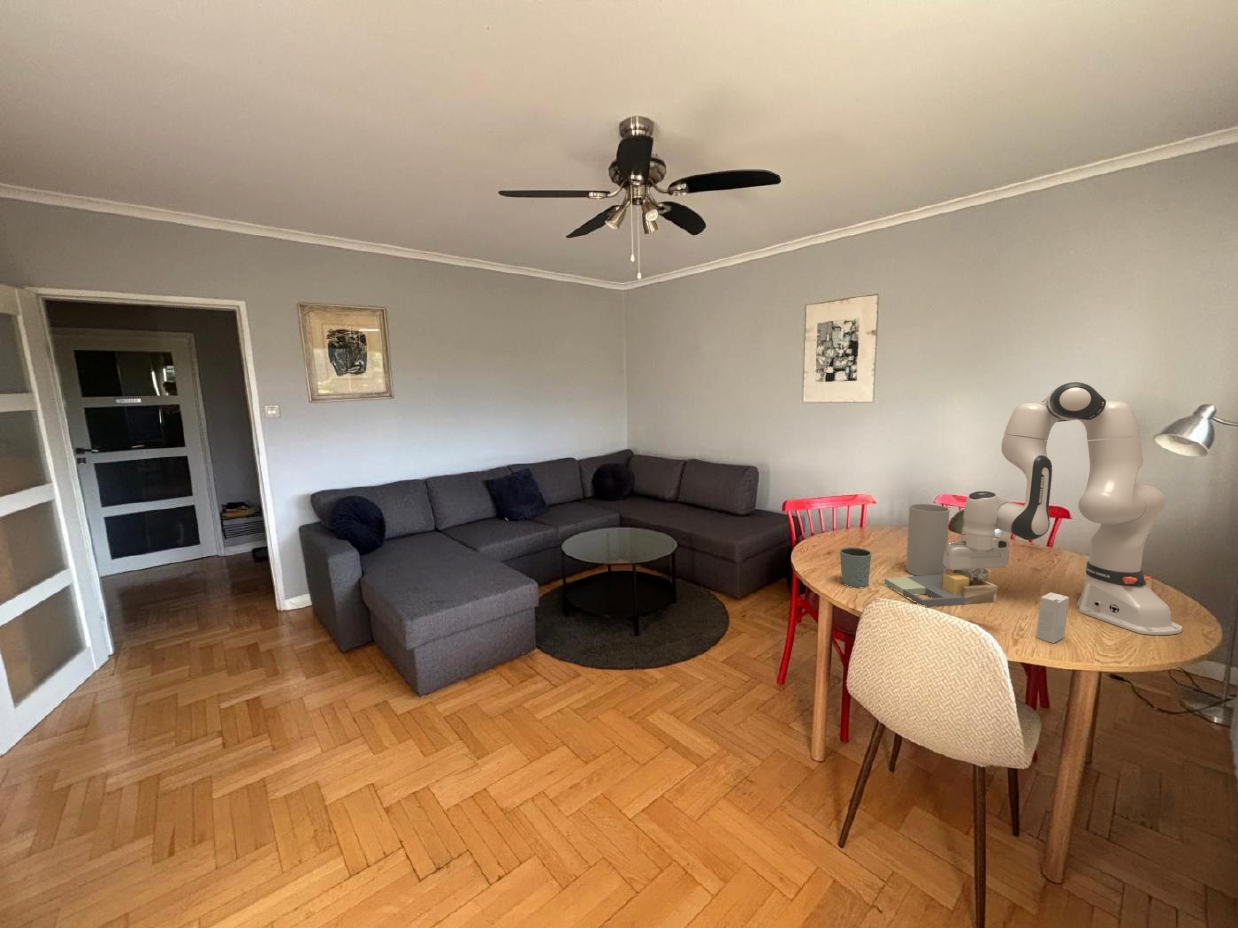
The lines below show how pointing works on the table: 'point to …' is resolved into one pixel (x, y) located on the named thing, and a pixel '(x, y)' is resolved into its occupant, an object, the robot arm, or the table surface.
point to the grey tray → (927, 590)
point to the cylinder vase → (927, 539)
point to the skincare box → (1052, 617)
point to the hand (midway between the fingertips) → (973, 580)
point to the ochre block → (954, 582)
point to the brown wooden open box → (979, 591)
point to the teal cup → (855, 566)
